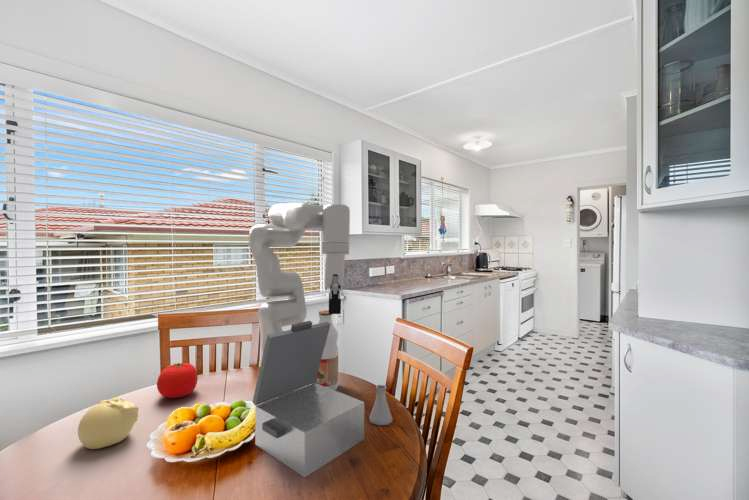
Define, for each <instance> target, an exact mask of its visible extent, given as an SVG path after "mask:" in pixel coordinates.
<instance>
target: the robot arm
mask: <svg viewBox="0 0 749 500" xmlns="http://www.w3.org/2000/svg"><path fill="white" fill-rule="evenodd" d="M350 211H351V210H350V207H349V206H348V205H346V204H341V203H327V204H325V205H322V204H314V203H313V204H312V203H301V202H300V203H296V202H295V203H291V202H289V203H287V202H286V203H285V202H283V203H282V202H281V203H276V204H274V205H272V206H271V207H270V209H269V211H268V215H267V217H268V219H269V221H270V222H271V223H260V224H259V223H258V224H255V225H254V226H252V227H251V229H250V230H249V234H248V243H249V248H250V251H251V254H252V256H253V260H254V261H255V266H256V275H257V283H258V289H259V295H261V297H263V298H266V299H272V298H273V299H274V298H286V297H287V299H280V300H273V301H267V302H264V303H263V304H261V305H260V306H259V307H258V311H257V319H258V323H259V331H260V363H261V362H262V357H263V353H264V348H265V344H266V339H267V335H269V334H274V333H278V332H283V331H284V330H283V327H288V326H292V324H296V323H301V322H305V321H306V318H307V304H306V298H305V292H304V286H303V281H302V278H301V276H300V275H299V273H297V272H296V271H289V270H288V271H282V269H281V263H280V259H279V257H278V255H277V254H276V253H275V252H274V251H273V250H272V249H271V248H292V247H294V246H297V244H298V243H299V241H300V240H301V238H302V237H303V235H304V233H306V231H311V232H312V231H314V232H315V231H316V232H318V231H319V232H321V233H322V235H321V242H322V243H321V254H322V255H325V258H324V259H325V261H324V290H325V291H326V292H327V291H328V290H329V293H328V311H329V314H332V315H340V314H342V313H341V312H342V298H341V291H342V290H343V288H344V279H345V278H344V277H345V264H346V263H345V262H346V261H345V259H346V258H345V257H346V255H350V225H351V222H350V221H351V220H350V218H351V217H350V216H351V215H350V213H351V212H350ZM258 375H259V373H258V374H257V376H258Z"/></svg>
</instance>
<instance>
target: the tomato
mask: <svg viewBox="0 0 749 500" xmlns="http://www.w3.org/2000/svg"><path fill="white" fill-rule="evenodd" d="M198 376H199V375H198V371H197V369H196V368H195V366H194V365H193V364H191V363H188V362H186V361H185V362H180V363H179V362H178V363H172V364H170V365H168V366H166V367H165V368H164V369H163V370H162V371H160V374H159V375H158V378H157V382H156V387H157V391H158V393H159V395H161V396H162V397H164V398H170V399H175V398H176V399H177V398H178V399H179V398H182V397H185V396H188V395H190V394H191V393H192V392H194V390H195V389H196V387H197V384H198Z"/></svg>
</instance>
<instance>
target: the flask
mask: <svg viewBox="0 0 749 500" xmlns="http://www.w3.org/2000/svg"><path fill="white" fill-rule="evenodd" d="M375 389H376V395H375V400H374V403H373V406H372V409H371V411H370V414H369V418H368V419H369V423H370V424H372V425H376V426H388V425H390V424H391V423H392V422H394V419H393V416H392V413H391V410H390V406H389V404H388V401H387V395H386V390H387V386H386V385H385V384H377V385H376V386H375Z"/></svg>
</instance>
